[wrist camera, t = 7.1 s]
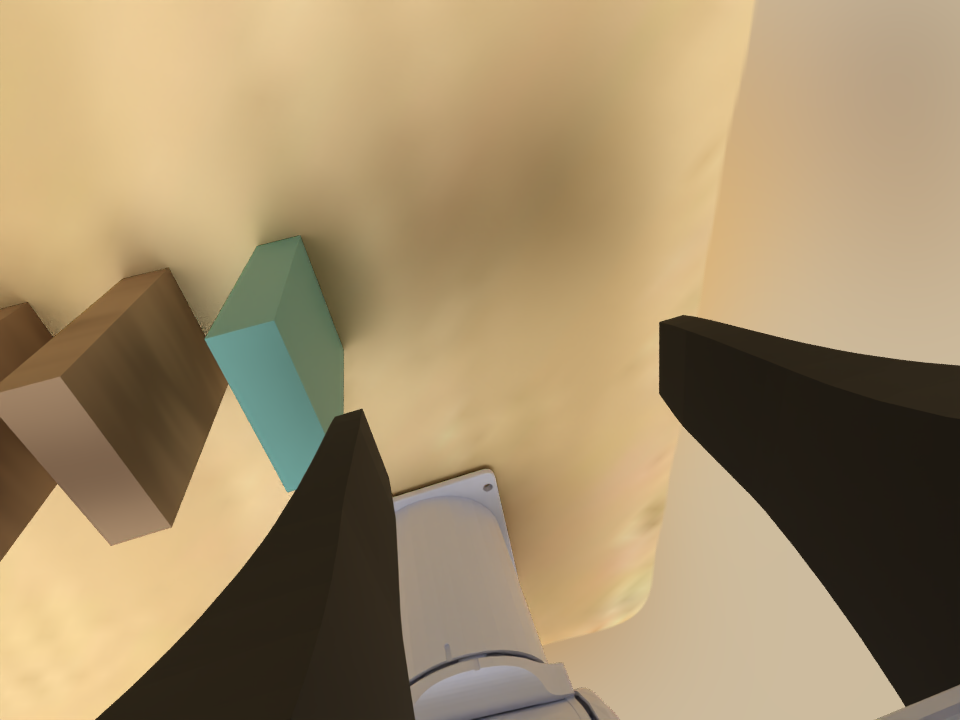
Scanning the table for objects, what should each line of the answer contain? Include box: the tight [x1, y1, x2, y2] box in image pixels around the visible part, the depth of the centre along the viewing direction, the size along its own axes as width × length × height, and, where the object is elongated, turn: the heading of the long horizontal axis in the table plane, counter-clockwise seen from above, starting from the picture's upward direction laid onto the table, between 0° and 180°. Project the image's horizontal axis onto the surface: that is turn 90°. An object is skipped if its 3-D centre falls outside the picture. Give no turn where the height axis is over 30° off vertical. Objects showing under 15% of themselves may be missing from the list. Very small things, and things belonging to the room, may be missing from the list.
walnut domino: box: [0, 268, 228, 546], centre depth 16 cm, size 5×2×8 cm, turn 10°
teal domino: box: [205, 236, 344, 492], centre depth 16 cm, size 5×2×8 cm, turn 11°
